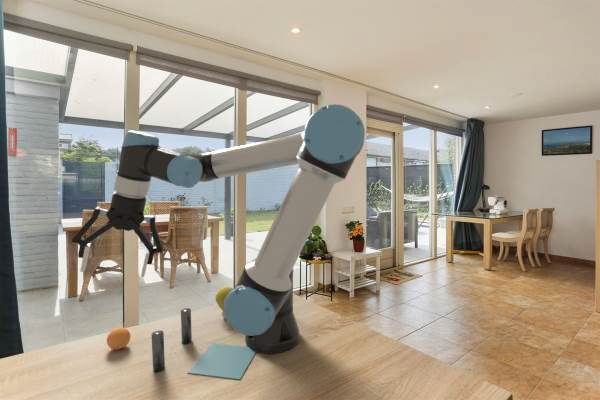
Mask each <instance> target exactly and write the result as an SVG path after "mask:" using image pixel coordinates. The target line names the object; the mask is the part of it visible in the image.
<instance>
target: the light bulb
mask: <svg viewBox="0 0 600 400" xmlns="http://www.w3.org/2000/svg"><path fill="white" fill-rule="evenodd" d="M232 289H234V288H232V287H230V286H224V287H222V288H219V290H218V291H217V292H216V294H215V302H216V304H217V306H218V307H219V308H220V309H221V316H222V319H223V320H227V318H226V316H225V314H224V301H225V299H226V297H227V295H228V293H229V292H230V291H231V290H232Z"/></svg>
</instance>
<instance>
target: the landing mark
mask: <svg viewBox="0 0 600 400" xmlns="http://www.w3.org/2000/svg"><path fill="white" fill-rule="evenodd" d="M256 353H257V351H254V350H252V349H250V348H249V347H248V346H242V345H235V344H233V345H232V344H225V343H214V342H212V343H211V344H210V345H209V347H208V348H207V349H206V350H205V351H204V352H203V354H202V355H201V356H200V357H199V358H198V360H197V361H196V362H195V363H194V364H193V366H191V368H189V370H188V371H187V374H189V375H198V376H203V377H205V376H206V377H214V378H220V379H221V378H222V379H228V380H229V379H230V380H238V381H241V379H242V378H243V376H244V374H245V372H246V371H247V369H248V368H249V365H250V364H251V362H252V360H253V359H254V356H255V354H256Z"/></svg>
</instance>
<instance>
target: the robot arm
mask: <svg viewBox="0 0 600 400" xmlns="http://www.w3.org/2000/svg"><path fill="white" fill-rule="evenodd" d="M365 132H366V130H365V127H364V123H363V120H362V119H361V117H360V116H359V115H358V114H357V113H356V112H355V111H354V110H353V109H351V108H349V107H348V106H346V105H342V104H336V103H335V104H327V105H324V106H322V107H319V108H318V109H316V111H314V112H313V113H312V114H311V115H310V116H309V118H308V120H307V122H306V124H305V126H304V130H303V132H301V133H297V134H292V135H288V136H281V137H277V138H274V139H267V140H263V141H259V142H258V141H257V142H253V143H247V144H244V145H238V146H233V147H229V148H223V149H218V150H215V151H209V152H204V153H188V152H180V151H175V150H171V149H169V148H164V147H161V146H160V138H159V137H158V136H156V135H153V134H149V133H146V132H142V131H137V130H128V131H127V132H125V135H124V139H123V143H122V145H121V151H120V158H119V164H118V169H117V173H116V176H115V179H114V180H115V181H114V186H113V190H114V192H112V196H111V201H110V207H109V208H108V209H104V208H102V206H99V205H97V206H96V207H95V208H94V210H93V211H92V212H93V213H92V215H91V216H90V218H89V219H88V220H87V221H86V222H85V223H84V224H83V226H82V227H81V228H80V229H79V230H78V231H77V232H76V233H75V234H74V236H73V237H72V238H71V243H74V244H78V245H79V249H78V255H77V256H78V258H81V259H82V262H81V265H80V271H79V272H80V273H84V272H85V271H86V268H87V265H88V260H89V256H90V255H89V254H90V251H91V250H90V249H91V245H92V243H91V242H92V241H94V240H95V239H97V238H98V237H100V236H102V234H104V233H106V232H107V231H108V230H110V229H111V228H115V230H117V231H118V230H120V231H121V230H123V231H127V232H130V231H133V232H134V234H135V235H137V237H138V238H139V240H140V241H141V243H142V244H143V245H144V246H145V248H146V251H145V255H144V260H143V263H142V264H143V265H142V270H141V273H140V277H141V278H144V277H145V275H146V270H147V267H148V266H147V265H152V264H153V259H154V255H156V253H162V252H163V244H162V241H161V240H162V239H161V238H160V234H159V232H158V228H157V225H156V215H155V214H152V215H145V214H144V213H145V207H146V204H147V197H146V196H148V193H149V189H150V185H151V179H152V178H155V179H158V180H160V181H164V182H166V183H169V184H173V185H174V186H176V187H182V188H187V189H191V188H194V187H195V185H197V184H198V183H199V182H202V183H205V182H211V181H214V180H218V179H223V178H228V177H234V176H238V175H246V174H249V173H256V172H261V171H267V170H271V169H278V168H282V167H289V166H294V165H298V169H297V171H296V173H295V175H294V177H293V179H292V182H291V183H290V186H289V187H288V189H287V192H286V194H285V196H284V198H283V201H282V202H281V204H280V206H279V209H278V211H277V213H276V215H275V218H274V219H273V222H272V223H271V225H270V228H269V230H268V232H267V234H266V237H265V238H264V241H263V243H262V245H261V248H260V249H259V251H258V254H257V256H256V258H253V259H252V260H251V261H248V262H247V263H246V264H245V266H244V268H243V270H242V273H241V274H240V276H239V279H238V281H237V283H236V284H235V286H234V288H233V289H232V290H231V291H230V292H229V293H228V295H227V297H226V299H225V301H224V314H225V316H226V318H227V319H226V321H227V323H228V324H229V326H230V327H231V328H233V330H235V331H236V332H238V333H239V334H242V335H245V344H246V347H249V348H250V349H252V350H254V351H256V353H257V352H258V353H261V354H262V353H263V354H279V353H283V352H286V351H289V350H291V349H293V348H295V346H296V345H298V343H299V341H300V329H299V328H300V327H299V325H298V323H297V319H296V317H295V313H294V266H295V265H296V263H297V261H298V259H299V256H300V255H301V252H302V251H303V248H304V247H305V245H306V243H307V240H308V239H309V236H310V234H311V232H312V230H313V229H314V227H315V225H316V222H317V220H318V219H319V216H320V215H321V212H322V210H323V208H324V206H325V204H326V202H327V200H328V198H329V196H330V194H331V193H332V190H333V188H334V186H335V185H336V184H337V183H340V182H342V181H345V180H346V177H347V176H348V174H349V171H350V169H351V168H352V166H353V164H354V162H355V159H356V158H357V156H358V155H359V154H360V152H361V151H362V149H363V147H364V144H365V135H366V134H365ZM105 215H106V217H107V219H108V220H107V221H106V222H105V223H104V224H102V225H100V226H99V227H98V228H97V229H95V230H94V231H92V232H91V233H89V234H88V235H86V237H83V236H84V235H85V234H86V233H87V231H88V230H89V229H90V228H91V227H92V226H93V225H94V224H95V222H96V221H97V219H101V218H103V216H105ZM143 222H145V223H146V225H148V226H149V228H150V232H151V236H152V238H153V242H154V245H155V246H154V245H153V243H152V241H151V240H150V239H149V237H148V235H147V234H146V232H145V231H144V229H143V228H142V225H141V224H142V223H143Z"/></svg>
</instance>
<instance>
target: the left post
mask: <svg viewBox="0 0 600 400" xmlns="http://www.w3.org/2000/svg"><path fill="white" fill-rule="evenodd" d="M150 335H151V351H152V354H151V355H152V371H153V373H155V374H156V373H161V372H163V371H164V370H166V362H165V359H166V358H165V336H164V335H165V334H164V330H156V331H153V332H152V333H151V334H150Z"/></svg>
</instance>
